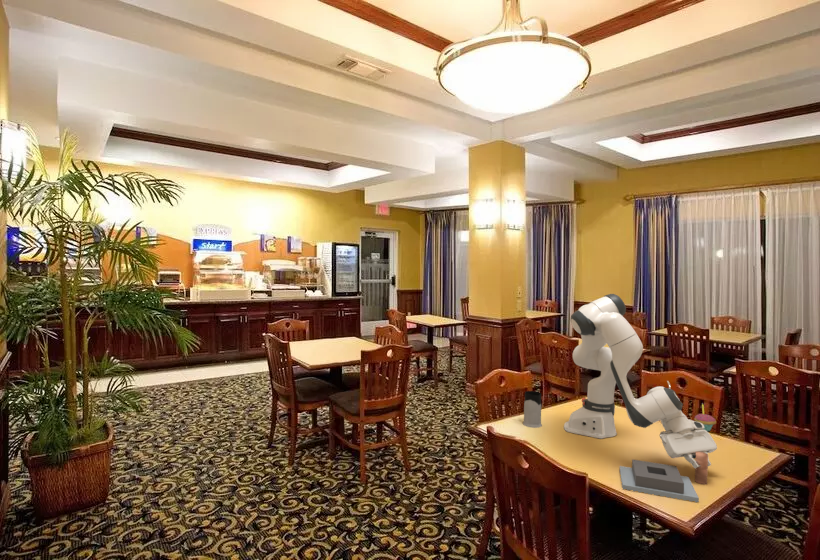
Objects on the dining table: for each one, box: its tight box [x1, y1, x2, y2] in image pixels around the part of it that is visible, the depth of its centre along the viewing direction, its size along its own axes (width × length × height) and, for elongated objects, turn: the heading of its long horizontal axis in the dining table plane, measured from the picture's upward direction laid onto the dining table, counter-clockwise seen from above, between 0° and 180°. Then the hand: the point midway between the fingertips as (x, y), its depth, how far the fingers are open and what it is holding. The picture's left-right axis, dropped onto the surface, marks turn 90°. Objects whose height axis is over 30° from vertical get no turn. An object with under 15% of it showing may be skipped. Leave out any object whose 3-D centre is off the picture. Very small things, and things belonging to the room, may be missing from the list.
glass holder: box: [522, 390, 543, 429], centre depth 217 cm, size 9×14×15 cm, turn 148°
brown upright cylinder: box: [694, 452, 709, 485], centre depth 159 cm, size 4×4×10 cm
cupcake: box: [693, 402, 717, 432], centre depth 212 cm, size 9×8×12 cm
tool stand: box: [619, 459, 700, 503], centre depth 156 cm, size 22×16×5 cm
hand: (703, 466), depth 158 cm, fingers closed on brown upright cylinder, 4 cm apart
